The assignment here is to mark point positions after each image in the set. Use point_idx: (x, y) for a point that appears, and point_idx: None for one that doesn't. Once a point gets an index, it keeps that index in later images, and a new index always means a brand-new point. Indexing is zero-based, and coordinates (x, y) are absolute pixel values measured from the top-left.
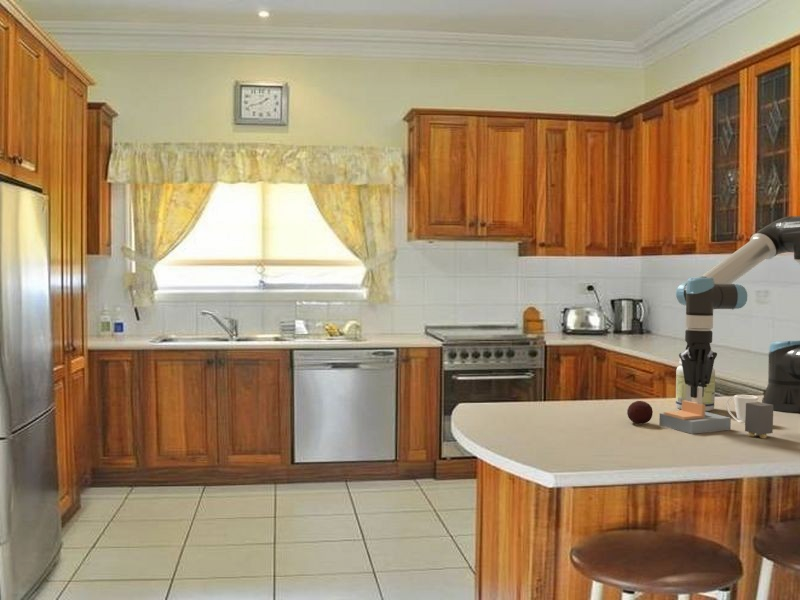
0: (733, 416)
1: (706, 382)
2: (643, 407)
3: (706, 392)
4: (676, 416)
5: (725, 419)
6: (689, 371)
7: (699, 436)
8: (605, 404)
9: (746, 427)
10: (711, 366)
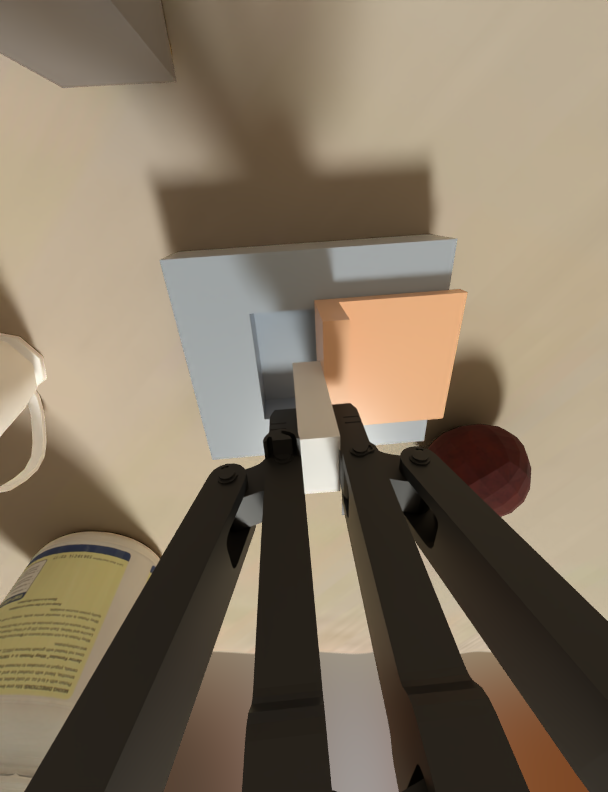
0: (38, 420)
1: (245, 476)
2: (518, 459)
3: (51, 599)
4: (454, 343)
5: (204, 255)
6: (536, 560)
7: (443, 168)
8: (330, 626)
9: (166, 57)
10: (135, 658)
